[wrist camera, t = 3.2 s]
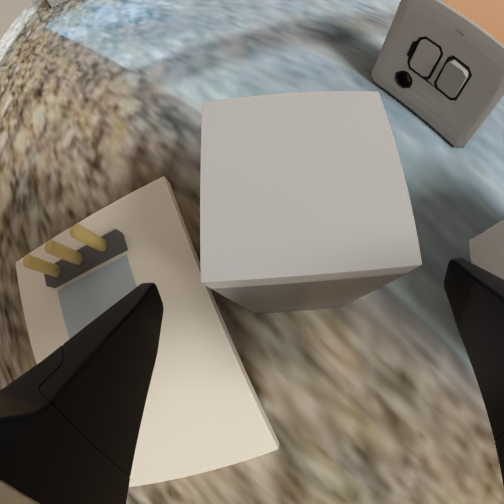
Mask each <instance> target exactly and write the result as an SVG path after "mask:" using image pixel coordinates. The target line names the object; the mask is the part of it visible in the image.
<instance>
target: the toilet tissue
mask: <svg viewBox="0 0 504 504" xmlns="http://www.w3.org/2000/svg"><path fill="white" fill-rule="evenodd" d="M469 251H470V258H471V263H473V264H475V265H477V266H479V267H481V268H483V269H484V270H486V271H488V272H490V273H492V274H494V275H496V276H498V277H499V278H501V279H503V280H504V219H503V220H501V221H500V222H499V223H496V224H495V225H494V226H493V227H491V228H488V229H487V230H486V231H484V232H483V233H481V234H478V235H477V236H476V237H475V238H472V239H470V240H469Z"/></svg>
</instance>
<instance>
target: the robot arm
mask: <svg viewBox="0 0 504 504" xmlns="http://www.w3.org/2000/svg"><path fill="white" fill-rule="evenodd" d="M444 287H445V291H446V294H447V297H448V300H449V303H450V306H451V309H452V312H453V315H454V319H455V322H456V325H457V328H458V330H459V333H460V336H461V338H462V341H463V343H464V346H465V348H466V351H467V353H468V356H469V359H470V362H471V364H472V367H473V370H474V373H475V376H476V379H477V381H478V385H479V388H480V391H481V394H482V397H483V400H484V403H485V407H486V410H487V414H488V417H489V421H490V425H491V428H492V432H493V436H494V440H495V441H496V442H495V445H496V449H497V454H498V458H499V463H500V468H501V473H502V479H503V485H504V280H503V279H501V278H499V277H498V276H496V275H494V274H492V273H490V272H488V271H486V270H484V269H483V268H481V267H479V266H477V265H475V264H473V263H471V262H469V261H467V260H465V259H463V258H454V259H451V260H450V261H449V264H448V268H447V272H446V276H445V280H444ZM163 310H164V308H163V303H162V300H161V297H160V294H159V291H158V288H157V286H156V284H155V283H142V284H140V285H139V286H138V287H136V288H135V289H134V290H132V291H131V292H130V293H128V294H127V295H126V296H124V297H123V298H122V299H120V300H119V301H118V302H116V303H115V304H114V305H113V306H111V307H110V308H109V309H107V310H106V311H105V312H103V313H102V314H101V315H100V316H98V317H97V318H96V319H94V320H93V321H92V322H91V323H89V324H88V325H87V326H85V327H84V328H83V329H82V330H80V331H79V332H78V333H77V334H75V335H74V336H73V337H72V338H70V339H69V340H68V341H67V342H65V343H64V344H63V345H61V346H60V347H59V348H58V349H56V350H55V351H54V352H53V353H51V354H50V355H49V356H48V357H46V358H45V359H44V360H43V361H41V362H40V363H38V364H37V365H36V366H34V367H33V368H31V369H30V370H29V371H27V372H26V373H24V374H23V375H22V376H20V377H19V378H17V379H16V380H15V381H13V382H12V383H10V384H9V385H8V386H6V387H5V388H3V389H2V390H0V504H126V499H127V493H128V487H129V482H130V475H131V470H132V465H133V459H134V454H135V449H136V444H137V440H138V435H139V430H140V425H141V421H142V416H143V412H144V407H145V403H146V399H147V394H148V390H149V386H150V382H151V377H152V373H153V369H154V365H155V361H156V357H157V352H158V346H159V339H160V332H161V324H162V318H163Z"/></svg>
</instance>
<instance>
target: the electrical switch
mask: <svg viewBox="0 0 504 504" xmlns="http://www.w3.org/2000/svg"><path fill="white" fill-rule="evenodd" d="M372 78H373V80H374V81H375V83H377V84H378V85H379V86H381V87H382V88H384V89H385V90H386V91H388V92H389V93H391V94H392V95H393V96H395V97H396V98H397V99H399V100H400V101H401V102H402V103H404V104H405V105H406V106H408V107H409V108H410V109H411V110H413V111H414V112H415V113H416V114H418V115H419V116H420V117H421V118H423V119H424V120H425V121H426V122H427V123H428V124H430V125H431V126H432V127H433V128H434V129H435V130H437V131H438V132H439V133H440V134H441V135H442V136H443V137H445V138H446V139H447V140H448V141H449V142H450V143H451V144H452V145H453V146H454V147H456V148H464V147H465V146H466V145H467V144H468V143H469V142H470V141H471V139H472V138H473V137H474V135H475V134H476V133H477V131H478V130H479V129H480V127H481V126H482V125H483V123H484V122H485V121H486V119H487V118H488V116H489V115H490V114H491V112H492V111H493V110H494V108H495V107H496V105H497V104H498V103H499V101H500V100H501V98H502V97H503V95H504V45H503V44H502V43H501V42H499V41H498V40H497V39H496V38H494V37H493V36H492V35H490V34H489V33H487V32H486V31H485V30H484V29H483V28H481V27H480V26H478V25H477V24H476V23H474V22H472V21H471V20H470V19H468V18H467V17H466V16H464V15H463V14H461V13H459V12H458V11H456V10H455V9H453V8H452V7H450V6H449V5H447V4H445V3H444V2H442V1H440V0H401V2H400V5H399V7H398V10H397V12H396V15H395V17H394V20H393V22H392V25H391V27H390V29H389V32H388V34H387V37H386V39H385V42H384V44H383V47H382V49H381V51H380V54H379V56H378V58H377V61H376V63H375V66H374V68H373V70H372Z"/></svg>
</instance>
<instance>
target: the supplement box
mask: <svg viewBox="0 0 504 504" xmlns="http://www.w3.org/2000/svg"><path fill="white" fill-rule="evenodd" d="M47 1H48V2H49V4H50V5H51V7H52V8H54V7H56V6H58V5H60V4H62V3H64V2H66V1H69V0H47Z"/></svg>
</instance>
